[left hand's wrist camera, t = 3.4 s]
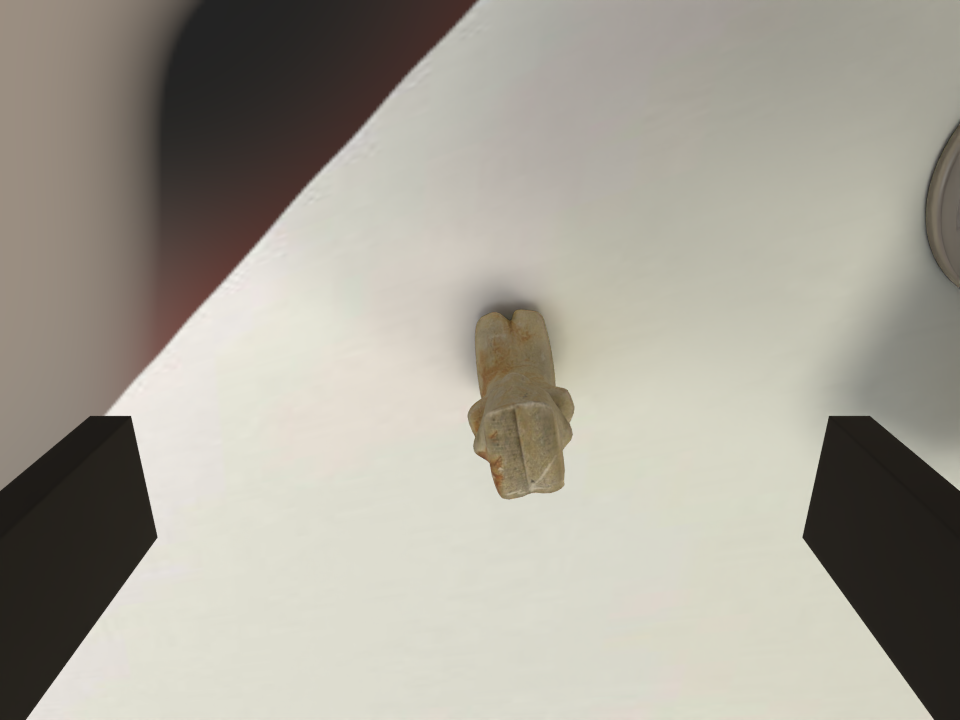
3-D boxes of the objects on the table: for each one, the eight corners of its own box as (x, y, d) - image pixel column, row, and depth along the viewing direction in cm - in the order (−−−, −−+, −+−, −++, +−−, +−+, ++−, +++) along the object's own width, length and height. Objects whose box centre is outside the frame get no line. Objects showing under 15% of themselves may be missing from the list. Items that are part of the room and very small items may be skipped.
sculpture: (554, 300, 43) (589, 398, 30) (559, 399, 46) (593, 533, 32) (465, 307, 44) (458, 409, 30) (475, 406, 46) (473, 541, 32)
